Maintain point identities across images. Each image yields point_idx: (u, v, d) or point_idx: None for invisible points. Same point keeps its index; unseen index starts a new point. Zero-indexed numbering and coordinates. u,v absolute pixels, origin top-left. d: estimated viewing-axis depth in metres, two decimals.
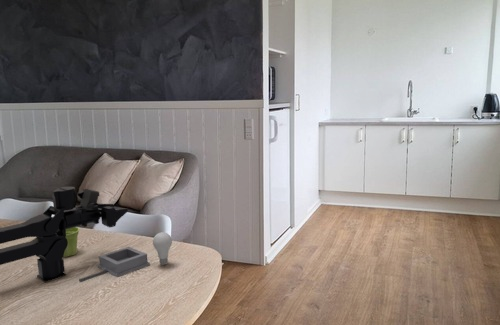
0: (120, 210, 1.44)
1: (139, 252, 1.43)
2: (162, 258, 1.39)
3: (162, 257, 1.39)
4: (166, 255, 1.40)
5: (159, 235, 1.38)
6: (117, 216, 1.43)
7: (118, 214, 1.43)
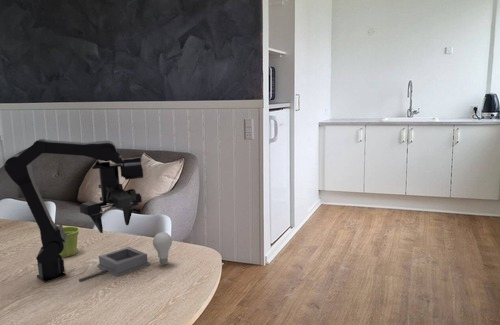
0: (98, 224, 1.33)
1: (139, 252, 1.43)
2: (162, 258, 1.39)
3: (162, 257, 1.39)
4: (166, 255, 1.40)
5: (159, 235, 1.38)
6: (94, 219, 1.34)
7: (95, 220, 1.34)
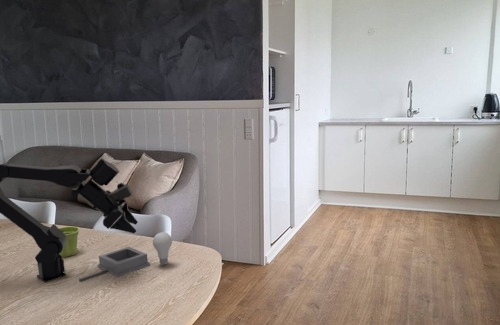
0: (128, 224, 1.31)
1: (139, 252, 1.43)
2: (162, 258, 1.39)
3: (162, 257, 1.39)
4: (166, 255, 1.40)
5: (159, 235, 1.38)
6: (120, 226, 1.31)
7: (123, 225, 1.31)
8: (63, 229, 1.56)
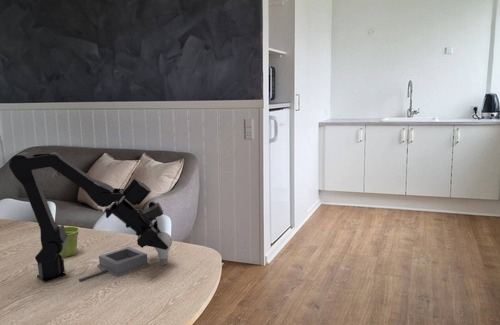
0: (160, 241, 1.36)
1: (139, 252, 1.43)
2: (162, 258, 1.39)
3: (162, 257, 1.39)
4: (166, 255, 1.40)
5: (159, 235, 1.38)
6: (153, 243, 1.35)
7: (156, 242, 1.35)
8: None
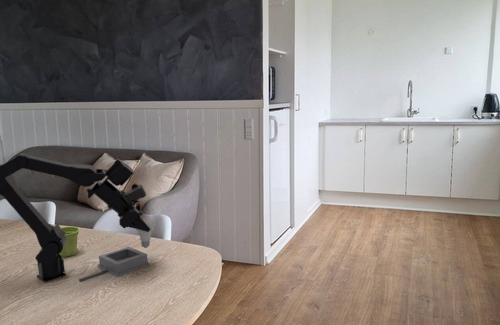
0: (143, 223, 1.35)
1: (139, 252, 1.43)
2: (144, 240, 1.38)
3: (144, 239, 1.38)
4: (148, 238, 1.39)
5: (142, 217, 1.37)
6: (136, 224, 1.34)
7: (138, 224, 1.34)
8: (63, 229, 1.56)
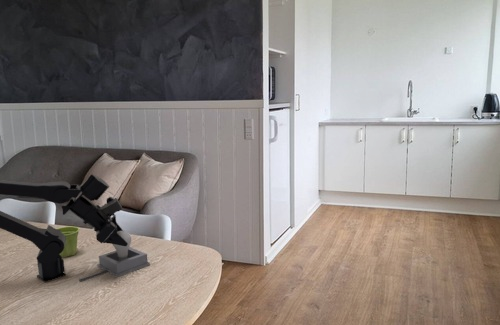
0: (120, 238, 1.34)
1: (139, 252, 1.43)
2: (122, 256, 1.39)
3: (122, 255, 1.39)
4: (126, 253, 1.40)
5: None
6: (113, 240, 1.33)
7: (115, 239, 1.34)
8: (63, 229, 1.56)
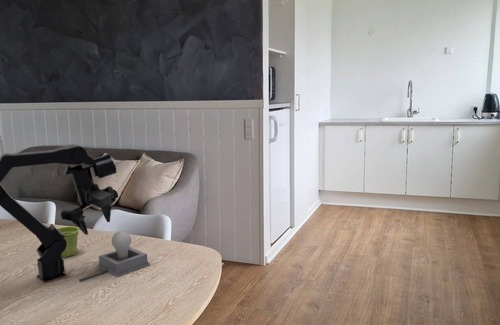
0: (82, 226, 1.35)
1: (139, 252, 1.43)
2: (122, 256, 1.39)
3: (122, 256, 1.39)
4: (126, 254, 1.40)
5: (118, 234, 1.38)
6: (76, 222, 1.35)
7: (78, 224, 1.35)
8: (63, 229, 1.56)
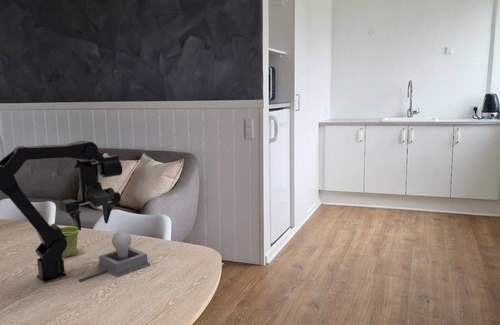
0: (76, 221, 1.36)
1: (139, 252, 1.43)
2: (122, 256, 1.39)
3: (122, 256, 1.39)
4: (126, 254, 1.40)
5: (118, 234, 1.38)
6: (72, 216, 1.37)
7: (74, 218, 1.37)
8: (63, 229, 1.56)
